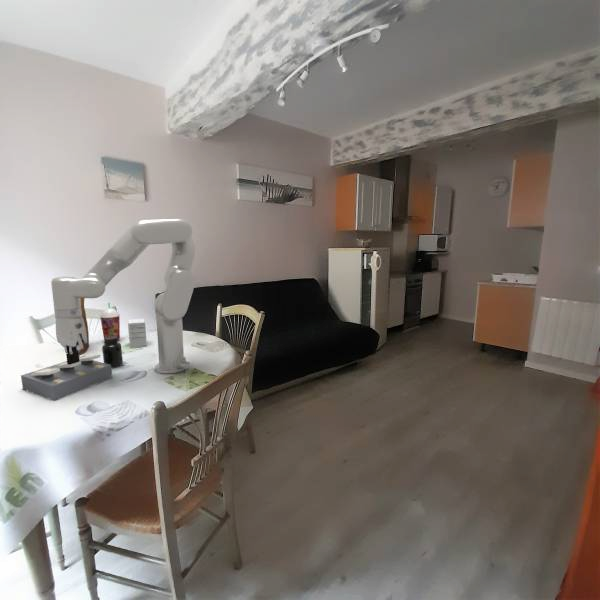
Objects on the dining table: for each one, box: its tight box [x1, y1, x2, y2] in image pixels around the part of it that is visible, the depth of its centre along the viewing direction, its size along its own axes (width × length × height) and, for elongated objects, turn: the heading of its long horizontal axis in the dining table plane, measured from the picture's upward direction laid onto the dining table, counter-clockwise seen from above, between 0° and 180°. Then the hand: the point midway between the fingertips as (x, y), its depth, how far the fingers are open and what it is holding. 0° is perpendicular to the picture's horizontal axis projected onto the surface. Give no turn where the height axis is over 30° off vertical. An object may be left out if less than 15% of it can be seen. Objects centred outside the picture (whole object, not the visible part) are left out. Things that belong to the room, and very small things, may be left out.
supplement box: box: [127, 318, 148, 349], centre depth 156 cm, size 7×7×13 cm
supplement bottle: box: [101, 336, 124, 369], centre depth 132 cm, size 7×7×12 cm
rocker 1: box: [31, 367, 60, 376], centre depth 109 cm, size 10×4×1 cm, turn 66°
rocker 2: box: [53, 361, 81, 368], centre depth 115 cm, size 10×4×1 cm, turn 66°
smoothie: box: [99, 302, 121, 342], centre depth 160 cm, size 8×8×20 cm
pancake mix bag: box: [79, 298, 90, 356], centre depth 147 cm, size 7×19×28 cm, turn 25°
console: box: [20, 359, 113, 401], centre depth 116 cm, size 18×20×6 cm
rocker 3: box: [79, 354, 101, 361], centre depth 122 cm, size 10×4×1 cm, turn 66°
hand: (73, 363), depth 113 cm, fingers closed
